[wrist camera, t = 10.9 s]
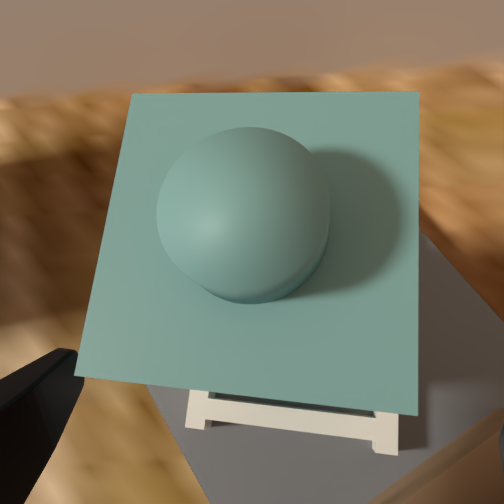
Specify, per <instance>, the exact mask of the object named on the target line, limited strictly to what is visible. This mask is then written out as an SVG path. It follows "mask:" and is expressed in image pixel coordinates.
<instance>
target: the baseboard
mask: <svg viewBox="0 0 504 504" xmlns="http://www.w3.org/2000/svg"><path fill="white" fill-rule="evenodd" d="M145 385H146V387H147V389H148V391H149V393H150V394H151V396H152V398H153V400H154V402H155V404H156V405H157V407H158V409H159V411H160V413H161V414H162V416H163V418H164V420H165V422H166V424H167V425H168V427H169V429H170V431H171V433H172V435H173V436H174V438H175V440H176V442H177V444H178V445H179V447H180V449H181V451H182V453H183V455H184V456H185V458H186V460H187V462H188V464H189V466H190V467H191V469H192V471H193V473H194V475H195V476H196V478H197V480H198V482H199V484H200V486H201V487H202V489H203V491H204V493H205V495H206V497H207V498H208V500H209V502H210V504H367V503H368V502H369V501H371V500H372V499H373V498H375V497H376V496H378V495H379V494H380V493H382V492H383V491H384V490H386V489H387V488H388V487H390V486H391V485H393V484H394V483H395V482H397V481H398V480H399V479H401V478H402V477H403V476H405V475H406V474H408V473H409V472H410V471H412V470H413V469H414V468H416V467H417V466H418V465H420V464H421V463H423V462H424V461H425V460H427V459H428V458H429V457H431V456H432V455H433V454H435V453H436V452H438V451H439V450H440V449H442V448H443V447H444V446H446V445H447V444H448V443H450V442H451V441H453V440H454V439H455V438H457V437H458V436H459V435H461V434H462V433H463V432H465V431H466V430H468V429H469V428H470V427H472V426H473V425H474V424H476V423H477V422H478V421H480V420H481V419H483V418H484V417H485V416H487V415H488V414H489V413H491V412H492V411H493V410H495V409H496V408H498V409H504V322H503V321H502V320H501V319H500V317H499V316H498V315H497V314H496V313H495V312H494V311H493V310H492V308H491V307H490V306H489V305H488V304H487V303H486V302H485V301H484V300H483V298H482V297H481V296H480V295H479V294H478V293H477V292H476V291H475V290H474V288H473V287H472V286H471V285H470V284H469V283H468V282H467V281H466V279H465V278H464V277H463V276H462V275H461V274H460V273H459V272H458V271H457V269H456V268H455V267H454V266H453V265H452V264H451V263H450V262H449V261H448V259H447V258H446V257H445V256H444V255H443V254H442V253H441V252H440V250H439V249H438V248H437V247H436V246H435V245H434V244H433V243H432V242H431V240H430V239H429V238H428V237H427V236H426V235H425V234H424V233H423V232H422V230H421V229H420V228H419V255H418V416H412V415H403V414H395V413H386V412H378V411H369V410H361V409H352V408H344V407H335V406H327V405H318V404H310V403H301V402H293V401H284V400H276V399H267V398H259V397H251V396H242V395H234V394H225V393H217V392H208V391H200V390H191V389H183V388H174V387H166V386H157V385H149V384H145Z"/></svg>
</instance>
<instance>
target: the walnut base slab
mask: <svg viewBox="0 0 504 504" xmlns="http://www.w3.org/2000/svg"><path fill="white" fill-rule="evenodd" d="M503 423H504V409H498V408H496V409H495V410H493V411H492V412H491V413H489V414H488V415H487V416H485V417H484V418H483V419H481V420H480V421H478V422H477V423H476V424H474V425H473V426H472V427H470V428H469V429H468V430H466V431H465V432H463V433H462V434H461V435H459V436H458V437H457V438H455V439H454V440H453V441H451V442H450V443H448V444H447V445H446V446H444V447H443V448H442V449H440V450H439V451H438V452H436V453H435V454H433V455H432V456H431V457H429V458H428V459H427V460H425V461H424V462H423V463H421V464H420V465H418V466H417V467H416V468H414V469H413V470H412V471H410V472H409V473H408V474H406V475H405V476H403V477H402V478H401V479H399V480H398V481H397V482H395V483H394V484H393V485H391V486H390V487H388V488H387V489H386V490H384V491H383V492H382V493H380V494H379V495H378V496H376V497H375V498H373V499H372V500H371V501H369V502H368V503H367V504H504V473H503V468H502V462H501V457H500V451H499V434H500V431H501V428H502V426H503Z"/></svg>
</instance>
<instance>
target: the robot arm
mask: <svg viewBox="0 0 504 504" xmlns="http://www.w3.org/2000/svg"><path fill="white" fill-rule="evenodd" d="M77 359H78V353H77V352H76V351H75V350H72V349H64V348H58V349H55V350H53V351H51V352H50V353H48V354H46V355H44V356H42V357H40V358H39V359H37V360H35V361H33V362H31V363H30V364H28V365H26V366H24V367H22V368H20V369H19V370H17V371H15V372H13V373H11V374H9V375H8V376H6V377H4V378H2V379H0V504H24V503H25V501H26V499H27V497H28V496H29V494H30V492H31V490H32V489H33V487H34V485H35V483H36V482H37V480H38V478H39V477H40V475H41V473H42V471H43V470H44V468H45V466H46V464H47V463H48V461H49V459H50V457H51V455H52V453H53V452H54V450H55V448H56V446H57V444H58V442H59V440H60V437H61V435H62V433H63V431H64V428H65V426H66V424H67V422H68V420H69V417H70V415H71V413H72V411H73V408H74V406H75V404H76V402H77V400H78V397H79V395H80V393H81V391H82V388H83V385H84V377H81V376H74V373H75V368H76V363H77ZM499 451H500V457H501V462H502V468H503V473H504V423H503V426H502V428H501V431H500V434H499Z"/></svg>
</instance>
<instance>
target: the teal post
mask: <svg viewBox="0 0 504 504" xmlns="http://www.w3.org/2000/svg"><path fill="white" fill-rule="evenodd" d="M418 255H419V91H399V92H269V93H139V94H132V97H131V102H130V107H129V111H128V116H127V121H126V126H125V131H124V136H123V141H122V145H121V150H120V155H119V160H118V165H117V170H116V174H115V179H114V184H113V189H112V194H111V199H110V204H109V208H108V213H107V218H106V223H105V228H104V233H103V237H102V242H101V247H100V252H99V257H98V262H97V267H96V271H95V276H94V281H93V286H92V291H91V296H90V300H89V305H88V310H87V315H86V320H85V325H84V330H83V334H82V339H81V344H80V349H79V354H78V359H77V363H76V368H75V373H74V376H81V377H89V378H98V379H106V380H115V381H123V382H132V383H140V384H149V385H157V386H166V387H174V388H183V389H191V390H200V391H208V392H217V393H225V394H234V395H242V396H251V397H259V398H267V399H276V400H284V401H293V402H301V403H310V404H318V405H327V406H335V407H344V408H352V409H361V410H369V411H378V412H386V413H395V414H403V415H412V416H418Z"/></svg>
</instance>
